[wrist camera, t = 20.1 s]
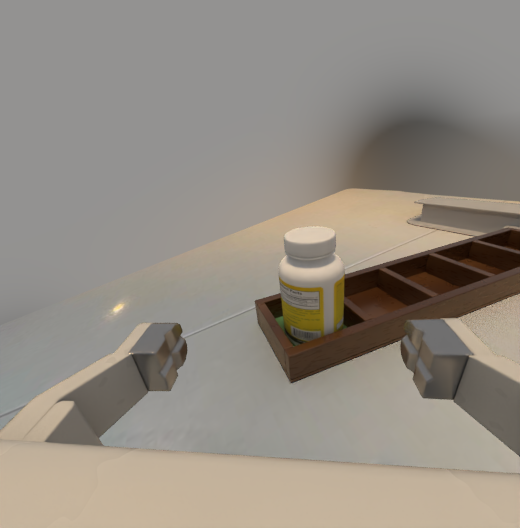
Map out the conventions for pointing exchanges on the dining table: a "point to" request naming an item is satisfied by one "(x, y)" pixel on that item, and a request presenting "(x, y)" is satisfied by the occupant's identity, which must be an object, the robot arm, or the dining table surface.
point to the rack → (401, 299)
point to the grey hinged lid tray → (467, 215)
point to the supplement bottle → (311, 284)
